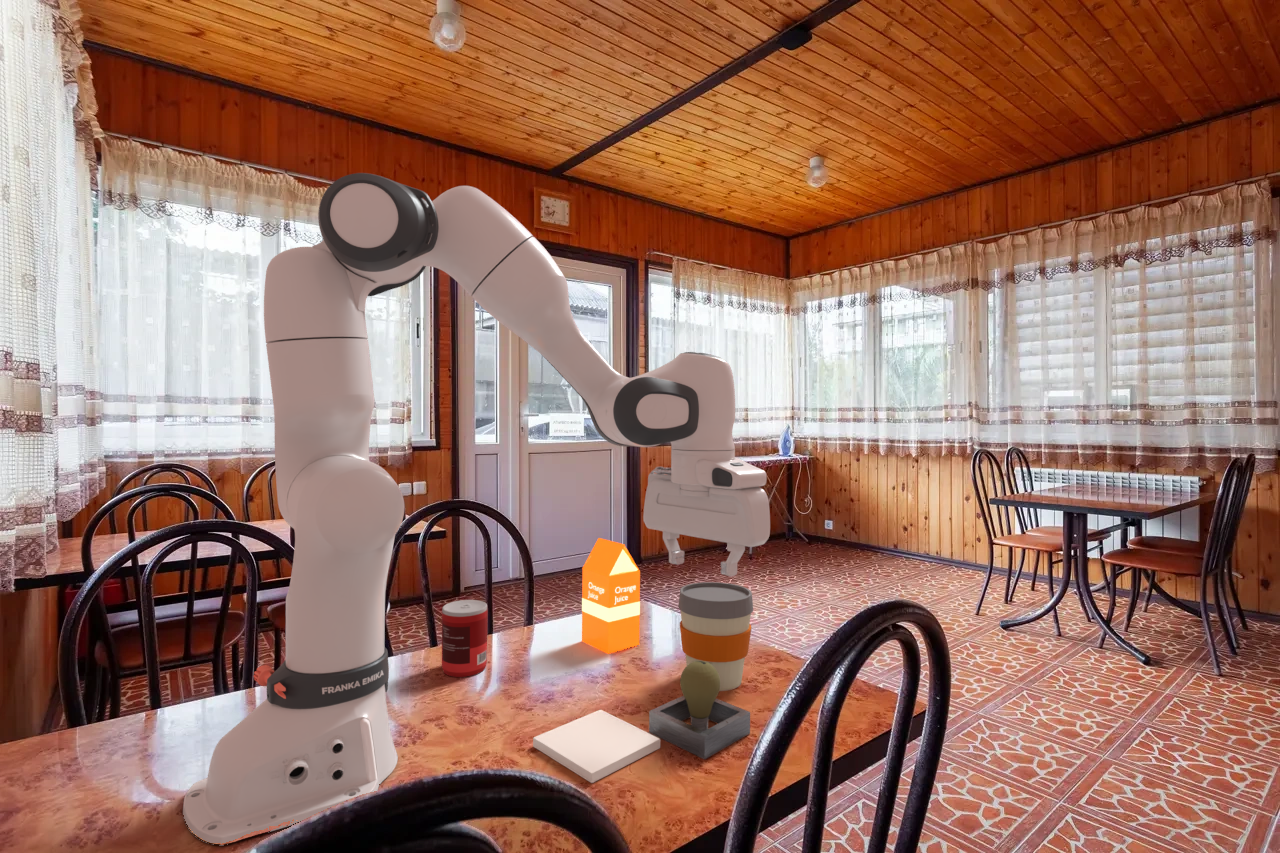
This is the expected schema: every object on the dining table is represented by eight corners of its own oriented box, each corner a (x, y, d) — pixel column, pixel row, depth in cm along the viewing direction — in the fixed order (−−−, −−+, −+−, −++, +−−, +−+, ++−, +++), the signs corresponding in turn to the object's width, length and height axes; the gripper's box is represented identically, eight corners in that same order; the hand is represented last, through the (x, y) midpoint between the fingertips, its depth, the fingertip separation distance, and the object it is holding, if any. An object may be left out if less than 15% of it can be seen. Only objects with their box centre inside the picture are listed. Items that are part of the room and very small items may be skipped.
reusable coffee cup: (672, 692, 104) (674, 599, 103) (681, 662, 116) (682, 579, 116) (752, 699, 101) (753, 604, 101) (752, 668, 114) (753, 583, 114)
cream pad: (591, 783, 78) (592, 773, 78) (533, 746, 86) (533, 737, 86) (660, 747, 86) (660, 738, 86) (600, 717, 95) (600, 709, 95)
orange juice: (612, 633, 132) (613, 535, 131) (640, 645, 125) (641, 542, 124) (580, 641, 127) (581, 539, 126) (607, 654, 120) (608, 547, 119)
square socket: (704, 759, 83) (704, 736, 83) (649, 732, 90) (649, 710, 90) (749, 733, 90) (750, 712, 90) (695, 709, 97) (695, 690, 97)
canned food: (483, 658, 117) (484, 597, 117) (490, 674, 110) (490, 610, 110) (439, 663, 115) (440, 601, 114) (443, 680, 107) (443, 614, 107)
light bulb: (719, 724, 93) (720, 655, 93) (720, 744, 87) (721, 670, 87) (680, 722, 93) (681, 653, 93) (678, 741, 88) (679, 668, 88)
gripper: (634, 466, 95) (633, 560, 95) (749, 476, 80) (748, 587, 81) (663, 464, 99) (662, 554, 100) (777, 473, 85) (776, 578, 85)
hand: (701, 569), depth 90 cm, fingers open, 8 cm apart
